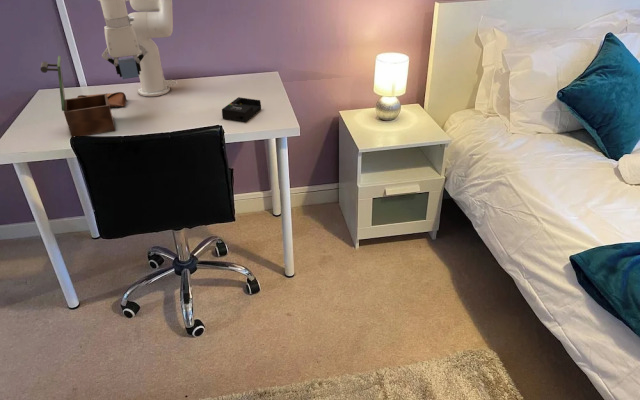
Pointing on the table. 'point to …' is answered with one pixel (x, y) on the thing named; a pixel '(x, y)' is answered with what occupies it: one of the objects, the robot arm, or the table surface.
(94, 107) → the chest
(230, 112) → the battery charger
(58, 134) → the table surface
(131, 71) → the block
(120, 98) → the sunglasses case
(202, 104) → the table surface
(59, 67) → the lid
